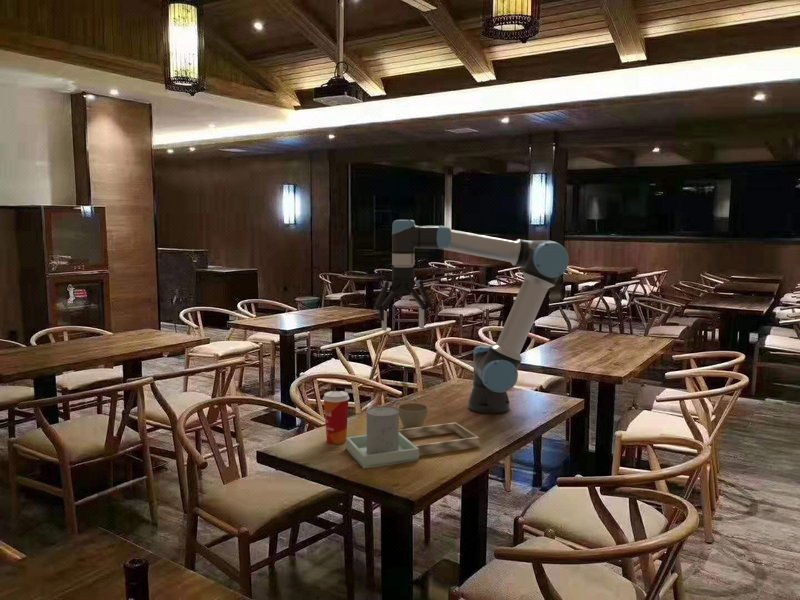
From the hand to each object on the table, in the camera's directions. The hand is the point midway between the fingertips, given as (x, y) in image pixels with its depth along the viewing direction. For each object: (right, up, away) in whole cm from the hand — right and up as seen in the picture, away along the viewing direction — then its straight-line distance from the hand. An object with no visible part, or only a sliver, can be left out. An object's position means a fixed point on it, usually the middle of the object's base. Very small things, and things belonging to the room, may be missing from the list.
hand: (402, 329), depth 213 cm
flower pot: (+3, -33, -4) cm, 33 cm away
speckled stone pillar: (-6, -35, -29) cm, 45 cm away
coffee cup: (-21, -34, -17) cm, 43 cm away
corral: (+10, -34, -19) cm, 40 cm away
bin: (-6, -35, -29) cm, 46 cm away
